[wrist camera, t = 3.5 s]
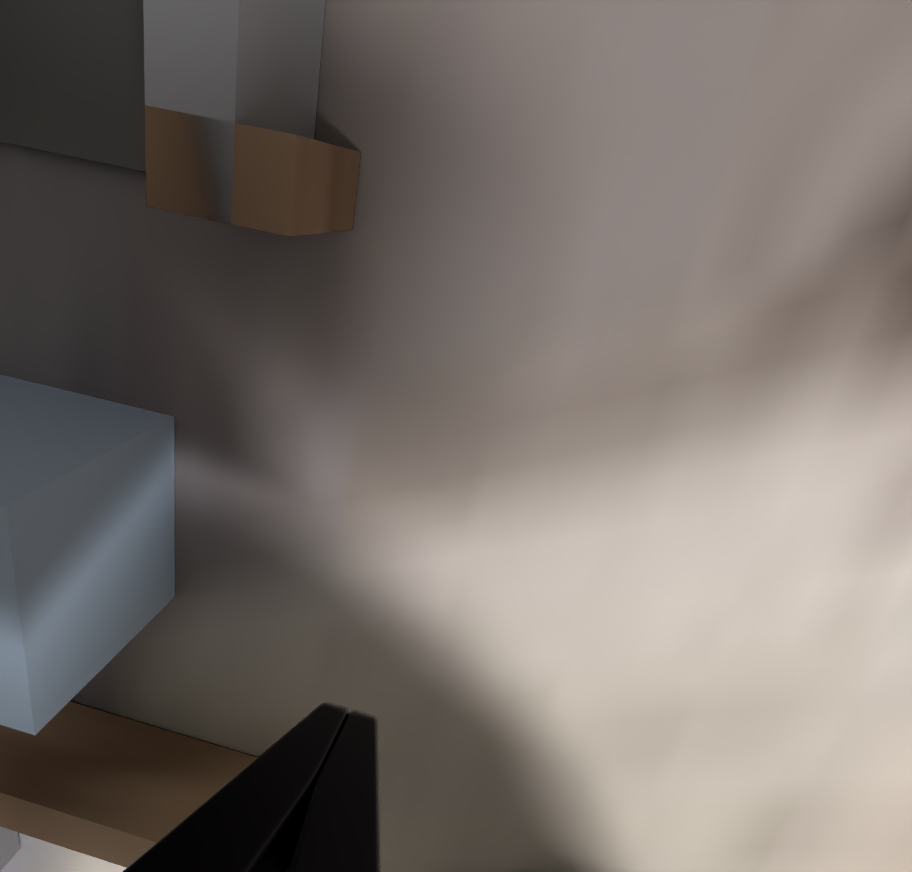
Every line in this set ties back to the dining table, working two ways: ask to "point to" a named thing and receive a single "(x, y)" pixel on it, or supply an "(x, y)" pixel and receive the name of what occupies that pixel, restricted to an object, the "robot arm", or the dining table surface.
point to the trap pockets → (154, 84)
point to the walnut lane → (110, 736)
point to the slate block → (77, 540)
